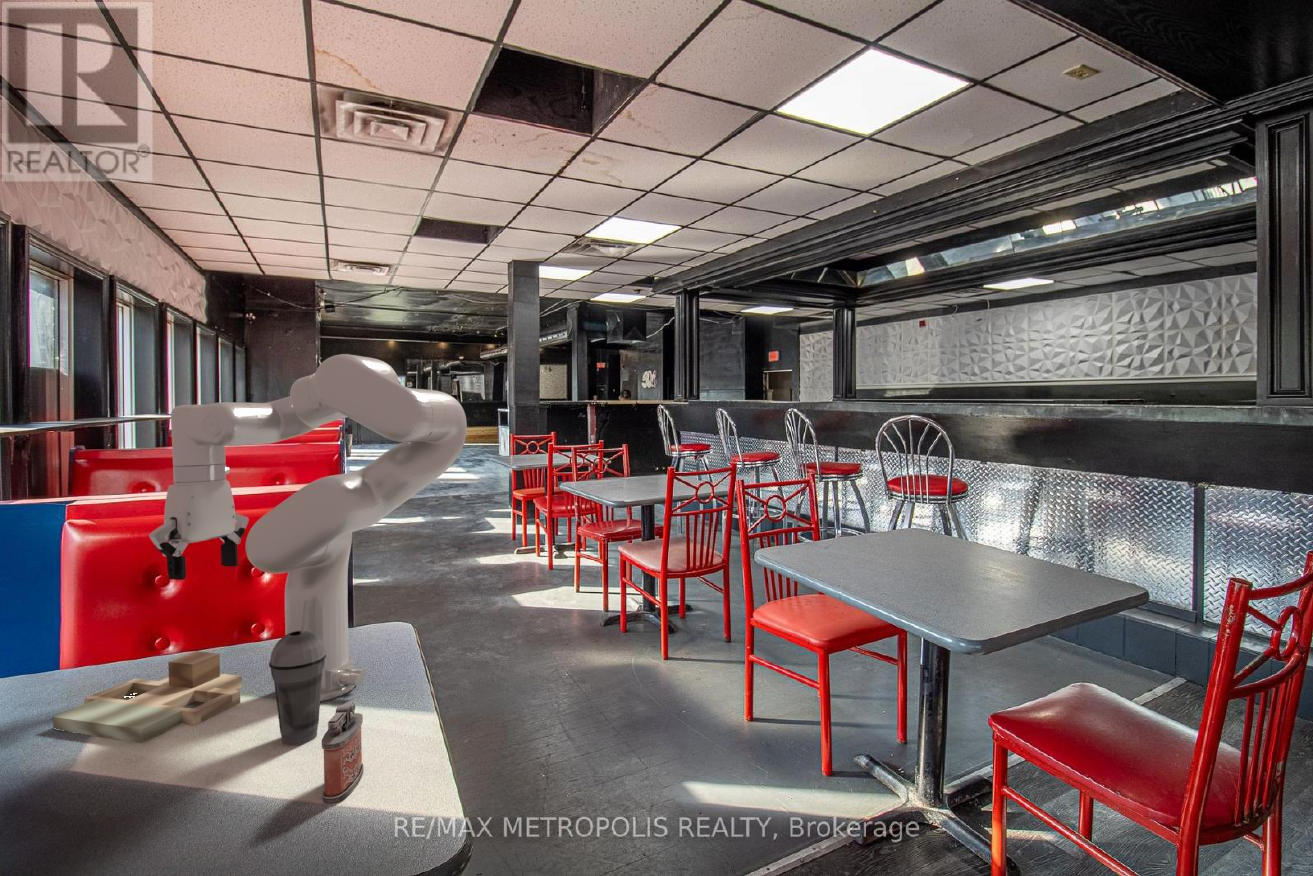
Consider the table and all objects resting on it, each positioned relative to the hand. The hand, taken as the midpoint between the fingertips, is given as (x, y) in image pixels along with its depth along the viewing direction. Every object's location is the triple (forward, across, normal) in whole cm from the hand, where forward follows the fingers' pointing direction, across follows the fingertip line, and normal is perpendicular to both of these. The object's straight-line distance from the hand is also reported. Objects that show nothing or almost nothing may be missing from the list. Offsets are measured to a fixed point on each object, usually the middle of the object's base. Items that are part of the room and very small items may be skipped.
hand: (204, 572), depth 113 cm
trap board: (+20, +10, +2) cm, 22 cm away
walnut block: (+18, +4, +2) cm, 18 cm away
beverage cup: (+20, +12, +31) cm, 39 cm away
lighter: (+21, +20, +47) cm, 55 cm away
